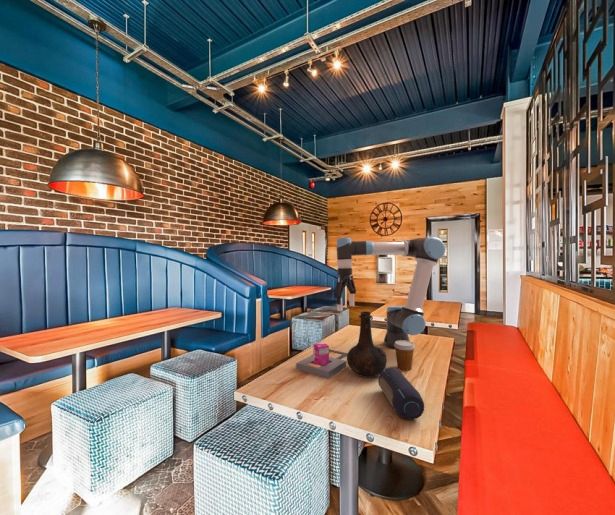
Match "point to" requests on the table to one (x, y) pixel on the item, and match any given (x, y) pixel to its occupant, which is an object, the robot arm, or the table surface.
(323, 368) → the socket plate
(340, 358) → the flat grey square frame
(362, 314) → the glass bottle
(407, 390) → the portable speaker
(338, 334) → the table surface
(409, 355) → the disposable coffee cup
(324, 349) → the supplement box
